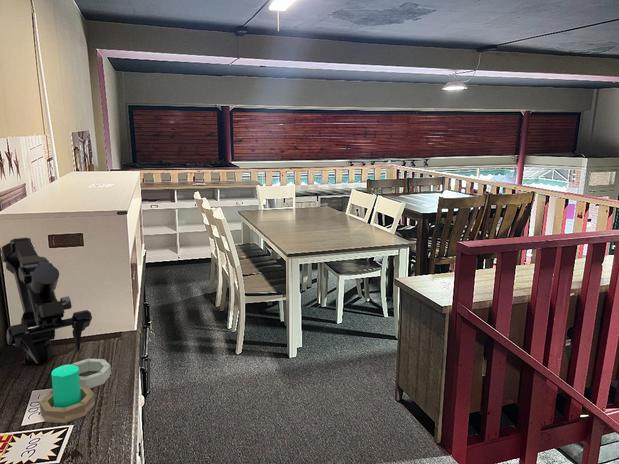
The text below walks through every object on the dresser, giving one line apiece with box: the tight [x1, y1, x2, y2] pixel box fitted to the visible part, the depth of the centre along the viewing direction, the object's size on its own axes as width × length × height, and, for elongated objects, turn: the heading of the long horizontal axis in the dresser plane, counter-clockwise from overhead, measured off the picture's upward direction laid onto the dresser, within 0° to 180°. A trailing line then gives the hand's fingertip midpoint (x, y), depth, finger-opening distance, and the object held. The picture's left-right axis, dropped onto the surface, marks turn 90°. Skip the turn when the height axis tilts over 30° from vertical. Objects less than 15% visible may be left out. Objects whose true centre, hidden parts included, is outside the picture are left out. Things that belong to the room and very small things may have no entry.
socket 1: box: [39, 386, 95, 424], centre depth 110 cm, size 11×11×3 cm
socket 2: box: [70, 358, 112, 389], centre depth 124 cm, size 11×11×3 cm
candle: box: [51, 363, 82, 408], centre depth 109 cm, size 6×6×12 cm
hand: (58, 357), depth 112 cm, fingers open, 9 cm apart
